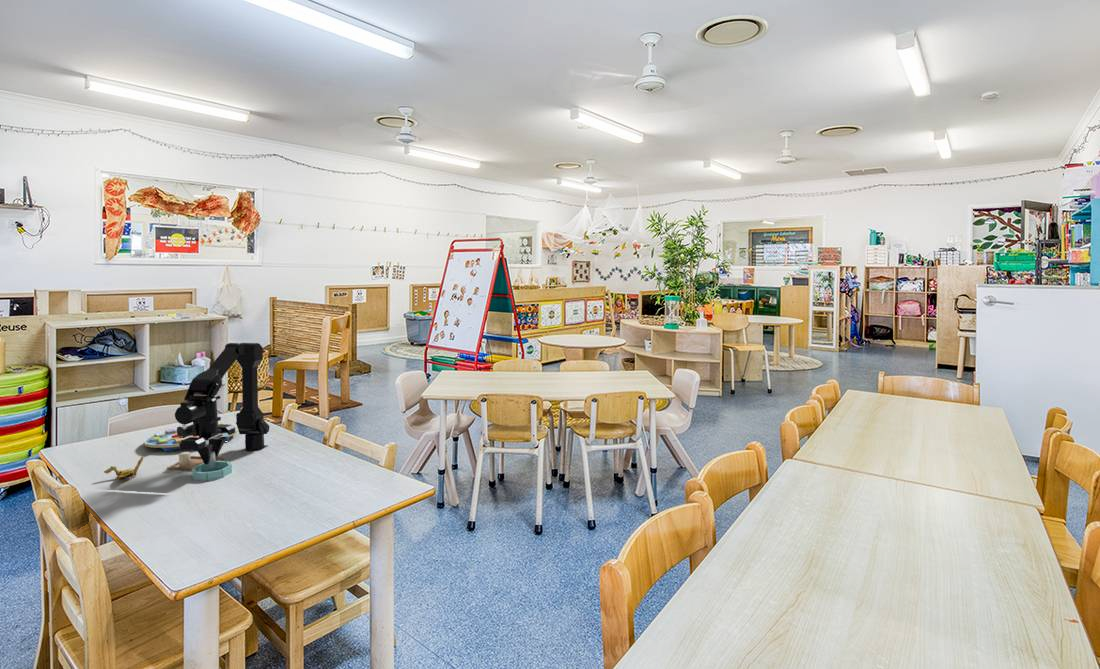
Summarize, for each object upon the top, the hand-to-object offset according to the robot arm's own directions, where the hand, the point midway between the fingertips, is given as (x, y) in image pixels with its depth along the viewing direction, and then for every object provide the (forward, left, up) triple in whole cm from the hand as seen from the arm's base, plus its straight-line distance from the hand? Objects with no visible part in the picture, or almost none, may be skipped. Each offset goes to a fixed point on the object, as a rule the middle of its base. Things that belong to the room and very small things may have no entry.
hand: (210, 462), depth 183 cm
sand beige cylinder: (-4, -12, -3) cm, 13 cm away
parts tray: (-6, -10, -4) cm, 12 cm away
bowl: (+1, +1, -4) cm, 4 cm away
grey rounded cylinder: (0, 0, -1) cm, 1 cm away
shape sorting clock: (-30, -29, -5) cm, 42 cm away
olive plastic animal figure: (+7, -23, -4) cm, 24 cm away
